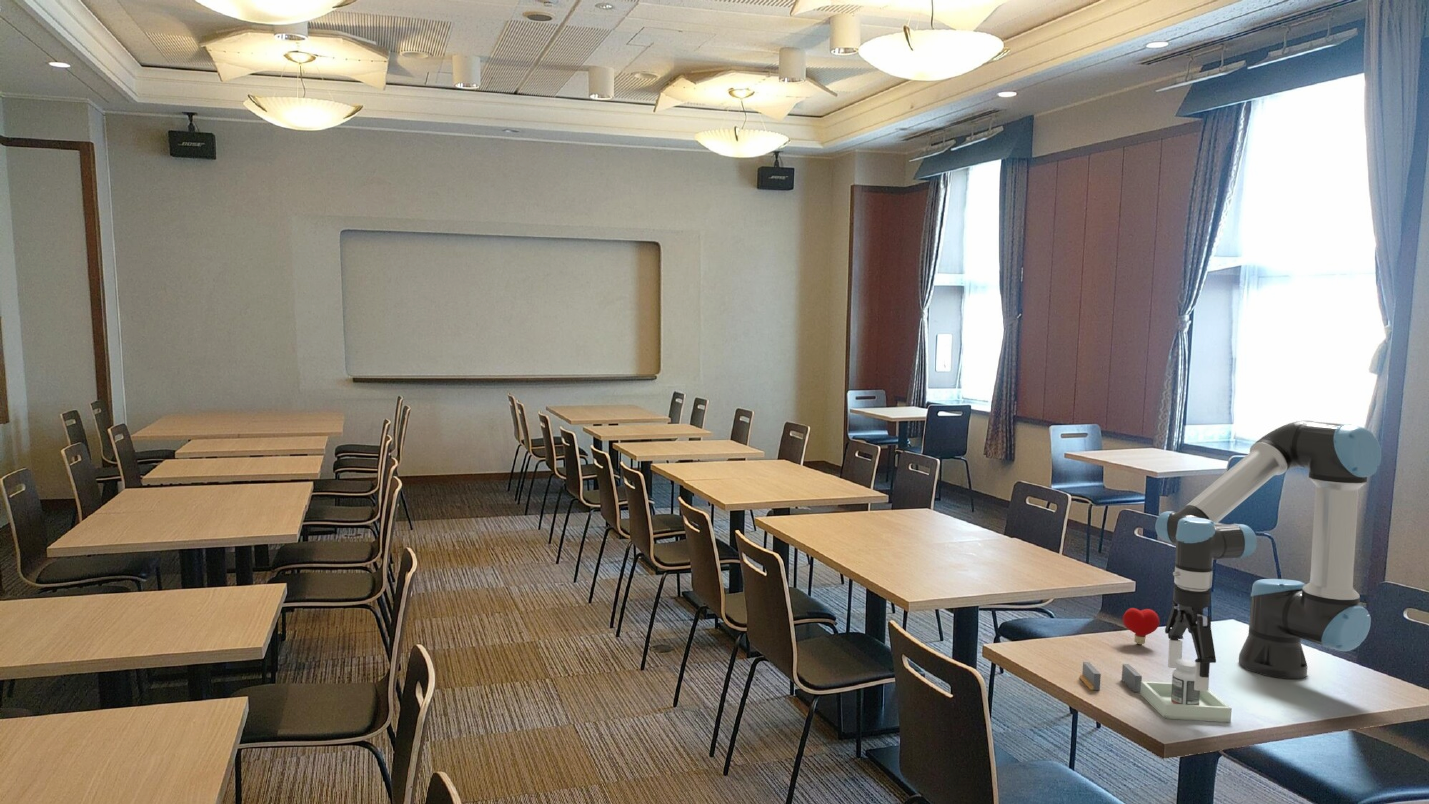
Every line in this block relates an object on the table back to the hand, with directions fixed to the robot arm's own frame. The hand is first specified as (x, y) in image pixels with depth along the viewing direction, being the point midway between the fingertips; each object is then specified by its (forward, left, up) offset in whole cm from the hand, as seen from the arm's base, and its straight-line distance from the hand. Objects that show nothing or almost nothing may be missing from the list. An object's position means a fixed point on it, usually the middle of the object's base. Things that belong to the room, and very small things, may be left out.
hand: (1187, 678), depth 210 cm
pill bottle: (0, +1, -6) cm, 6 cm away
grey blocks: (+12, -12, -7) cm, 18 cm away
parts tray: (0, 0, -7) cm, 7 cm away
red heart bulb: (-7, -44, -7) cm, 45 cm away
